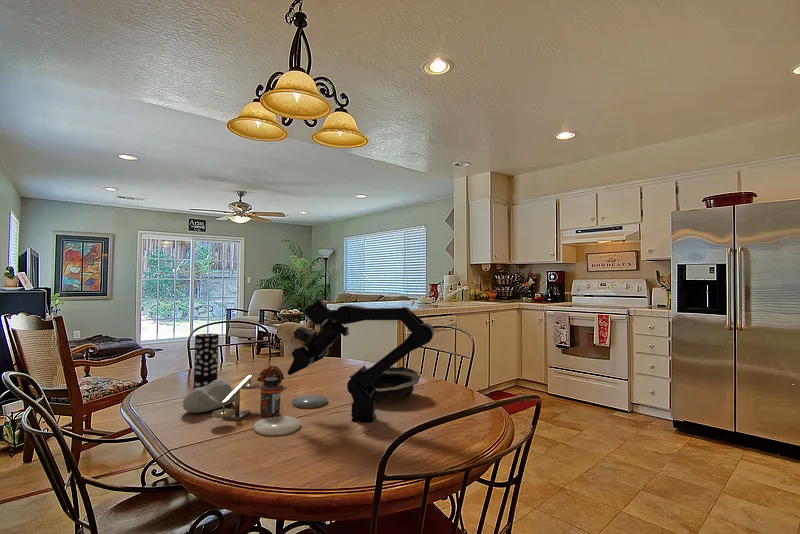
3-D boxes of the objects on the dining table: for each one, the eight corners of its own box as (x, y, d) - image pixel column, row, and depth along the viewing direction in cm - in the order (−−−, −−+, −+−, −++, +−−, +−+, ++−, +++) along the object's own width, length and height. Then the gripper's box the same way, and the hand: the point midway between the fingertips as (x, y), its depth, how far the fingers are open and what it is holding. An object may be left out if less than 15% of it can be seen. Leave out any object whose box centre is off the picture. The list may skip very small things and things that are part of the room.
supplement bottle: (256, 415, 131) (257, 379, 131) (270, 410, 136) (271, 375, 136) (270, 418, 128) (271, 381, 128) (283, 413, 133) (284, 377, 133)
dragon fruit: (279, 393, 161) (260, 392, 168) (292, 376, 167) (273, 376, 174) (267, 377, 158) (248, 377, 165) (281, 361, 164) (262, 361, 171)
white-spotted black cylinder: (193, 384, 165) (195, 333, 166) (216, 382, 169) (218, 333, 169) (193, 389, 158) (195, 336, 158) (217, 387, 161) (218, 336, 161)
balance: (262, 406, 140) (263, 373, 140) (227, 430, 118) (228, 391, 118) (245, 405, 140) (245, 372, 141) (206, 428, 119) (207, 389, 119)
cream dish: (307, 421, 127) (307, 417, 127) (289, 437, 114) (290, 433, 114) (266, 418, 128) (266, 414, 128) (245, 433, 116) (245, 430, 116)
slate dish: (331, 398, 150) (331, 396, 150) (320, 409, 138) (320, 406, 138) (299, 396, 151) (299, 394, 152) (286, 406, 140) (286, 403, 140)
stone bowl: (421, 388, 166) (422, 365, 165) (417, 413, 141) (418, 386, 141) (360, 384, 168) (361, 362, 168) (346, 408, 144) (347, 382, 143)
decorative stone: (219, 391, 147) (229, 370, 144) (235, 411, 143) (246, 390, 140) (172, 408, 132) (182, 385, 129) (189, 431, 128) (200, 408, 125)
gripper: (319, 315, 143) (289, 348, 144) (297, 321, 124) (263, 358, 126) (341, 338, 141) (311, 371, 143) (323, 347, 123) (288, 385, 124)
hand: (294, 370), depth 134 cm, fingers open, 9 cm apart
